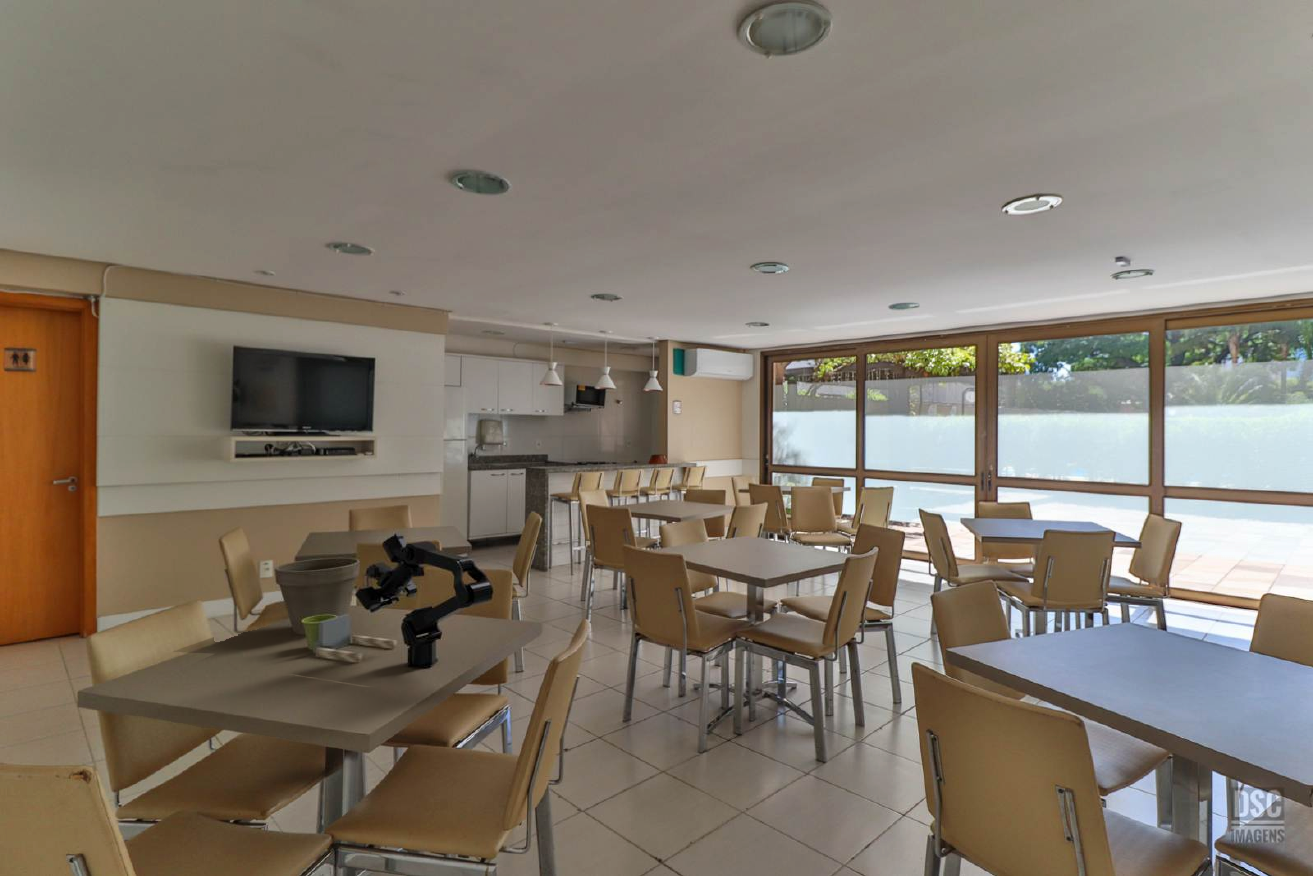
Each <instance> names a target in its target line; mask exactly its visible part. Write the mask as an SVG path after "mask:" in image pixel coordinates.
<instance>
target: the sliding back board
mask: <svg viewBox="0 0 1313 876" xmlns="http://www.w3.org/2000/svg"><path fill="white" fill-rule="evenodd" d="M350 645H351V614H349V613H347V614H345V615H342V616H338V617H335V618H332V619H328V620H325V621H321V622H319V641H316V642H313V650H312V653H313V654H316V648H319V647H320V648H327V649H335V650H339V649H341V648H343V647H344V648H345V647H346V646H347V647H348V646H350Z"/></svg>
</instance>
